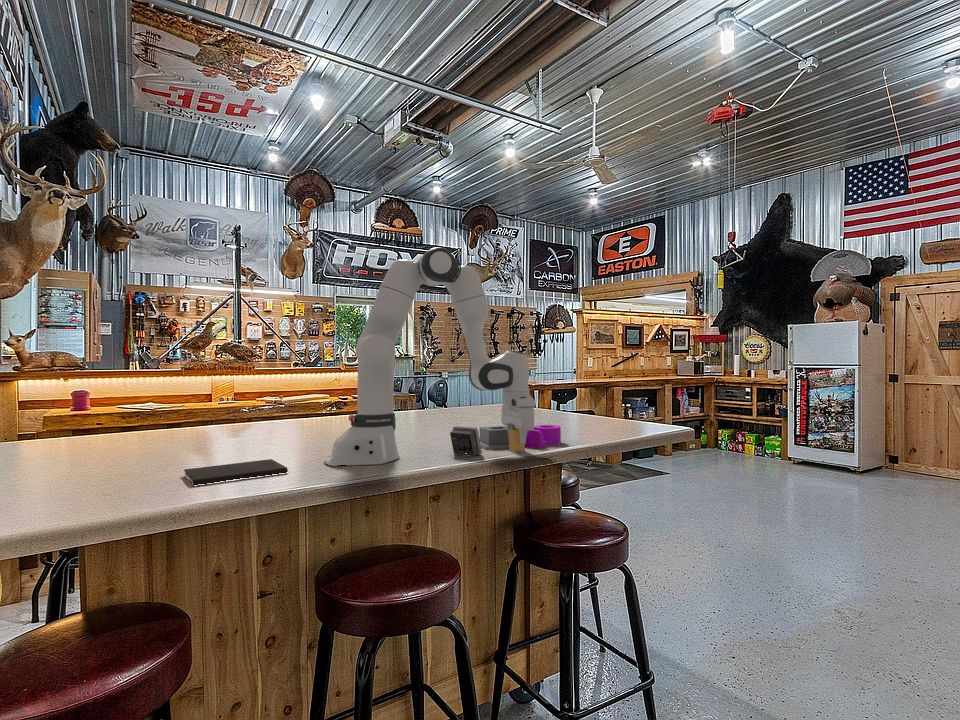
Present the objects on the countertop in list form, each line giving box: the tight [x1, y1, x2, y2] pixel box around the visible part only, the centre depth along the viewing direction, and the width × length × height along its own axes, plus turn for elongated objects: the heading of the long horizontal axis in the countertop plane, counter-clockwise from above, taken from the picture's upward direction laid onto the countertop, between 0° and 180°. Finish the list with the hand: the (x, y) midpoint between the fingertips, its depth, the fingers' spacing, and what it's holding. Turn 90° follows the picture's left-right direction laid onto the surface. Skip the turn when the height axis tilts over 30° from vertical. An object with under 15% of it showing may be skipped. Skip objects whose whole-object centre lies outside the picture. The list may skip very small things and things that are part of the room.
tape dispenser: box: [525, 424, 562, 449], centre depth 189 cm, size 16×10×6 cm, turn 141°
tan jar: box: [508, 423, 526, 453], centre depth 176 cm, size 5×5×9 cm
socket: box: [479, 425, 509, 450], centre depth 188 cm, size 14×14×6 cm
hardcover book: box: [183, 458, 289, 486], centre depth 144 cm, size 16×23×2 cm
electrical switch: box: [449, 425, 483, 457], centre depth 170 cm, size 9×5×9 cm, turn 57°
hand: (516, 441), depth 176 cm, fingers open, 8 cm apart
